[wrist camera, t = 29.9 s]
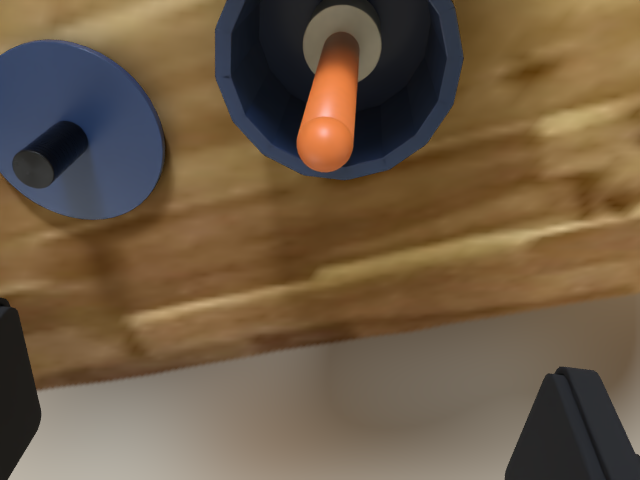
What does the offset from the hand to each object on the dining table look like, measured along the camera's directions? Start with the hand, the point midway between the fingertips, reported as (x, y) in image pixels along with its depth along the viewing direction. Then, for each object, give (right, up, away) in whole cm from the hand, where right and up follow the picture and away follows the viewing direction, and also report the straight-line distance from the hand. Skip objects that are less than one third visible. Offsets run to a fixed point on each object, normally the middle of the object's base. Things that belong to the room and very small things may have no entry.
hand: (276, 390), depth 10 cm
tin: (+2, +16, +26) cm, 30 cm away
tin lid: (-17, +10, +30) cm, 36 cm away
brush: (+2, +16, +25) cm, 30 cm away
